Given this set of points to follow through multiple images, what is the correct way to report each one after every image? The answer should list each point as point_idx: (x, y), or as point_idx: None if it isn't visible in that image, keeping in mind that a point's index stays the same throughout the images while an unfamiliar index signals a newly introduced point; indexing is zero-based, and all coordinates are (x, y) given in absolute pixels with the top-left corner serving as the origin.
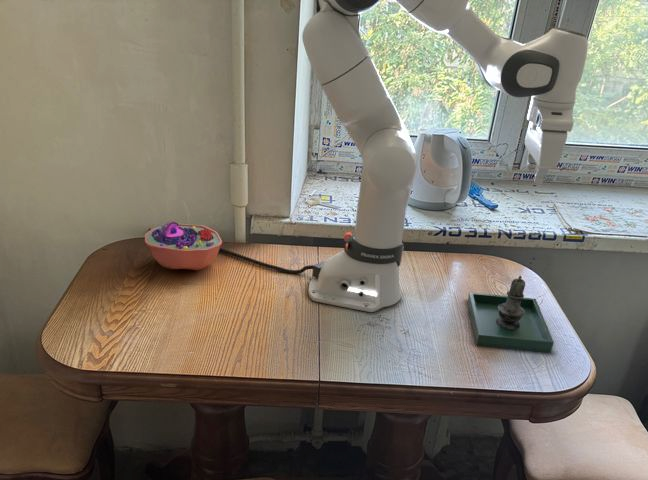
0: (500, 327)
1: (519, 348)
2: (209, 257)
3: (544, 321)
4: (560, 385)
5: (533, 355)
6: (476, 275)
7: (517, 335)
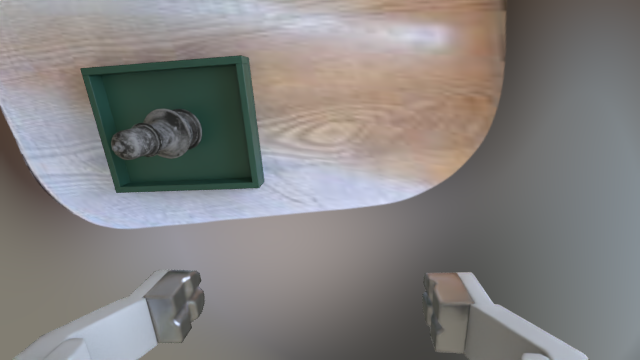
0: None
1: None
2: None
3: (177, 189)
4: (53, 185)
5: None
6: (380, 83)
7: None
